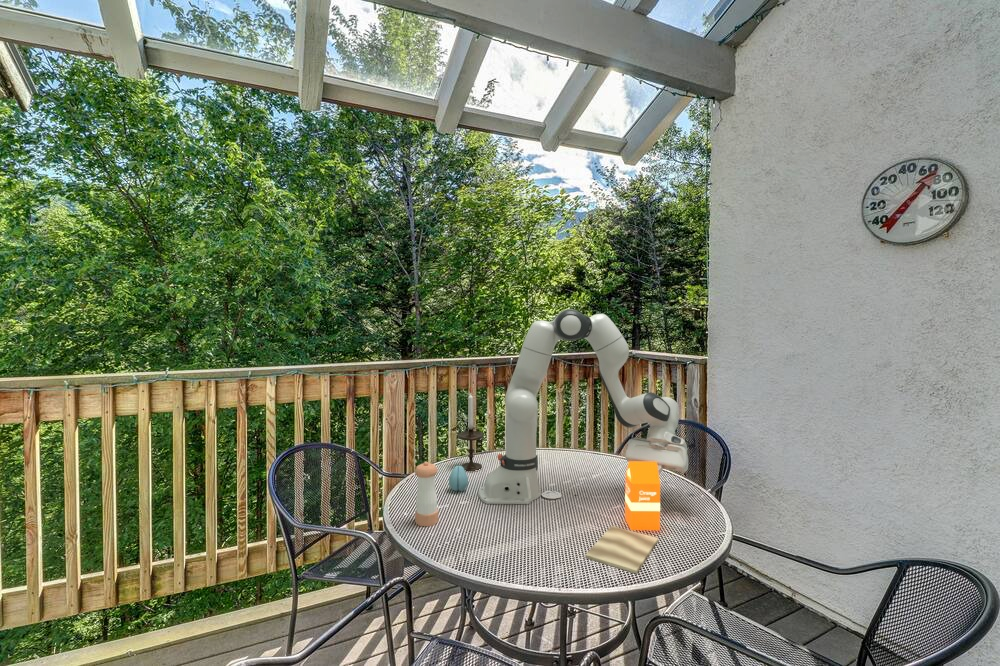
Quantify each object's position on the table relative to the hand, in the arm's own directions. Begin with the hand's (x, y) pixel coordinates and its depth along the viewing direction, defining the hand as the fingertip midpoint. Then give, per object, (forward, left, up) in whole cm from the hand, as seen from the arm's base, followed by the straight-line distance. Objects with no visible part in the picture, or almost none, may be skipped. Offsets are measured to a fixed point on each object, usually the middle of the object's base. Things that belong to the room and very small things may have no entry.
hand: (651, 477), depth 154 cm
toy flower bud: (-61, +32, -12) cm, 70 cm away
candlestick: (-54, +53, -12) cm, 76 cm away
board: (-19, -20, -12) cm, 30 cm away
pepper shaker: (-73, +7, -12) cm, 74 cm away
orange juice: (-7, -7, -12) cm, 15 cm away
